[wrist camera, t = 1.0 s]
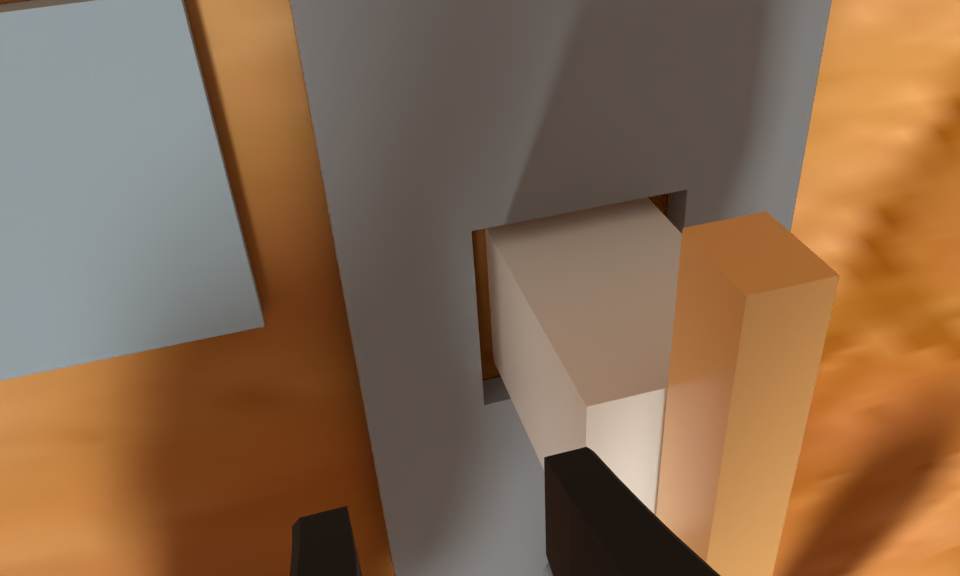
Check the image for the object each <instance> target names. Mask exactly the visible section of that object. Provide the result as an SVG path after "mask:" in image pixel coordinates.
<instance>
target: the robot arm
mask: <svg viewBox="0 0 960 576" xmlns="http://www.w3.org/2000/svg"><path fill="white" fill-rule="evenodd" d="M544 478H545V530H546V556H547V559H548V562H549V565H550V568H551V571H552V574H553V576H720V575H719V574H718V573H717V572H716V571H715V570H714V569H712V568H711V567H710V566H709V565H708V564H707V563H706V562H705V561H704V560H703V559H702V558H700V557H699V556H698V555H697V554H696V553H695V552H694V551H693V550H692V549H691V548H689V547H688V546H687V545H686V544H685V543H684V542H683V541H682V540H681V539H680V538H679V537H677V536H676V535H675V534H674V533H673V532H672V531H671V530H670V529H669V528H668V527H667V526H666V525H665V524H664V523H663V522H662V521H661V520H660V519H659V518H658V517H657V516H656V515H655V514H654V513H653V512H652V511H651V510H650V509H649V508H648V507H647V506H646V505H645V504H644V503H643V502H642V501H641V500H640V499H639V498H638V497H637V496H636V495H635V494H634V493H633V492H632V491H631V490H630V489H629V488H628V487H627V486H626V485H625V484H624V483H623V482H622V481H621V480H620V479H619V478H618V477H617V476H616V475H615V474H614V472H613V471H612V470H611V469H610V468H609V467H608V466H607V465H606V464H605V463H604V462H603V461H602V460H601V458H600V457H599V456H598V455H597V454H596V453H595V452H594V451H593V450H591V449H590V448H588V447H583V448H579V449H575V450H571V451H567V452H563V453H559V454H555V455H551V456H547V457H544ZM290 576H362V573H361V569H360V564H359V560H358V555H357V550H356V546H355V541H354V537H353V532H352V527H351V523H350V518H349V514H348V509H347V506H346V507H342V508H337V509H333V510H329V511H325V512H321V513H317V514H313V515H309V516H305V517H301V518H299V519H298V520H297V522H296V523H295V524H294V525H293V526H292V558H291V569H290Z"/></svg>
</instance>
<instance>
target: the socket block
mask: <svg viewBox="0 0 960 576" xmlns="http://www.w3.org/2000/svg"><path fill="white" fill-rule="evenodd" d="M831 1H832V0H289V3H290V9H291V14H292V20H293V25H294V30H295V36H296V41H297V47H298V52H299V58H300V63H301V69H302V74H303V80H304V85H305V90H306V96H307V101H308V107H309V112H310V118H311V123H312V129H313V134H314V139H315V145H316V150H317V156H318V161H319V167H320V172H321V178H322V183H323V189H324V194H325V199H326V205H327V210H328V216H329V221H330V227H331V232H332V238H333V243H334V249H335V254H336V259H337V265H338V270H339V276H340V281H341V287H342V292H343V298H344V303H345V309H346V314H347V319H348V325H349V330H350V336H351V341H352V347H353V352H354V358H355V363H356V368H357V374H358V379H359V385H360V390H361V396H362V401H363V407H364V412H365V418H366V423H367V428H368V434H369V439H370V445H371V450H372V456H373V461H374V467H375V472H376V478H377V483H378V488H379V494H380V499H381V505H382V510H383V516H384V521H385V527H386V532H387V538H388V543H389V548H390V554H391V559H392V565H393V570H394V576H553V574H552V571H551V568H550V565H549V562H548V559H547V556H546V530H545V478H544V469H543V467H542V465H541V463H540V461H539V459H538V456H537V454H536V452H535V450H534V448H533V446H532V443H531V441H530V439H529V437H528V435H527V432H526V430H525V428H524V426H523V424H522V422H521V419H520V417H519V415H518V413H517V411H516V409H515V406H514V404H513V402H512V400H511V398H510V395H509V393H508V391H507V389H506V387H505V385H504V382H503V380H502V378H501V377H496V378H492V379H487V380H483V381H482V368H481V354H480V340H479V327H478V313H477V299H476V286H475V272H474V258H473V245H472V231H475V230H480V229H485V228H490V227H495V226H501V225H506V224H511V223H516V222H521V221H527V220H532V219H537V218H542V217H547V216H553V215H558V214H563V213H568V212H573V211H579V210H584V209H589V208H594V207H599V206H605V205H610V204H615V203H620V202H625V201H631V200H636V199H641V198H646V197H651V196H657V195H662V194H667V193H668V202H667V214H666V217H667V219H668V220H669V221H670V222H671V223H672V224H673V225H674V226H675V227H676V228H677V229H678V230H679V231H680V232H681V234H682V229H683V228H685V227H690V226H695V225H700V224H705V223H710V222H715V221H720V220H725V219H730V218H735V217H740V216H745V215H750V214H755V213H760V212H765V211H767V212H768V213H769V214H770V215H771V216H772V217H773V218H775V219H776V220H777V221H778V222H779V223H780V224H781V225H783V226H784V227H785V228H786V229H787V230H788V231H789V232H790V231H791V225H792V220H793V214H794V209H795V203H796V197H797V192H798V186H799V181H800V175H801V169H802V164H803V158H804V153H805V147H806V141H807V136H808V130H809V124H810V119H811V113H812V108H813V102H814V96H815V91H816V85H817V80H818V74H819V68H820V63H821V57H822V52H823V46H824V40H825V35H826V29H827V24H828V18H829V12H830V7H831Z"/></svg>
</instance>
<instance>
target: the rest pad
mask: <svg viewBox="0 0 960 576" xmlns="http://www.w3.org/2000/svg"><path fill="white" fill-rule="evenodd" d="M260 327H265V325H264V316H263V310H262V306H261V302H260V298H259V294H258V290H257V286H256V283H255V279H254V275H253V271H252V267H251V263H250V259H249V255H248V251H247V247H246V243H245V239H244V235H243V231H242V227H241V223H240V219H239V215H238V211H237V208H236V204H235V200H234V196H233V192H232V188H231V184H230V180H229V176H228V172H227V168H226V164H225V160H224V156H223V152H222V148H221V144H220V140H219V136H218V133H217V129H216V125H215V121H214V117H213V113H212V109H211V105H210V101H209V97H208V93H207V89H206V85H205V81H204V77H203V73H202V69H201V65H200V61H199V58H198V54H197V50H196V46H195V42H194V38H193V34H192V30H191V26H190V22H189V18H188V14H187V10H186V6H185V2H184V0H30V1H23V2H15V3H7V4H0V381H1V380H6V379H11V378H15V377H20V376H25V375H30V374H35V373H40V372H45V371H50V370H55V369H60V368H64V367H69V366H74V365H79V364H84V363H89V362H94V361H99V360H104V359H108V358H113V357H118V356H123V355H128V354H133V353H138V352H143V351H148V350H152V349H157V348H162V347H167V346H172V345H177V344H182V343H187V342H192V341H196V340H201V339H206V338H211V337H216V336H221V335H226V334H231V333H236V332H241V331H245V330H250V329H255V328H260Z"/></svg>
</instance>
